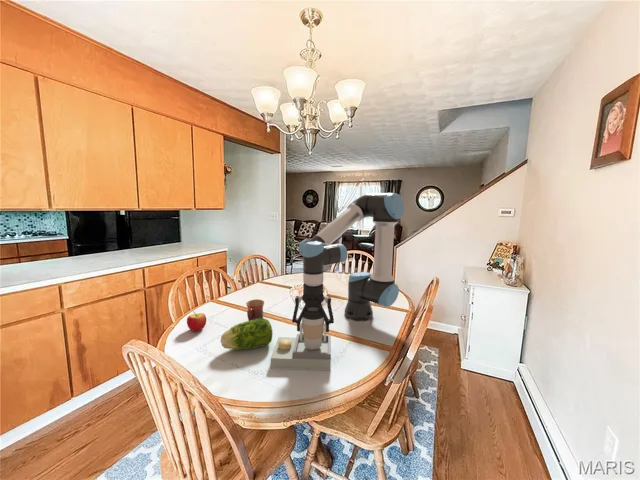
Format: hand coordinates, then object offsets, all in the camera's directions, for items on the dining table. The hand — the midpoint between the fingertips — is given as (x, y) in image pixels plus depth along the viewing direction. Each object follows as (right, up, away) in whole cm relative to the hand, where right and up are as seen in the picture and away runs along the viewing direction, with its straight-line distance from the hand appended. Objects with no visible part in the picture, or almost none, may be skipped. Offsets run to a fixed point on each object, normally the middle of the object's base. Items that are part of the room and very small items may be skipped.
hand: (313, 339), depth 103 cm
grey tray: (-4, -8, +1) cm, 9 cm away
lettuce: (-28, -7, +8) cm, 29 cm away
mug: (-30, -3, +29) cm, 42 cm away
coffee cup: (0, -3, 0) cm, 3 cm away
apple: (-55, -4, +22) cm, 60 cm away
